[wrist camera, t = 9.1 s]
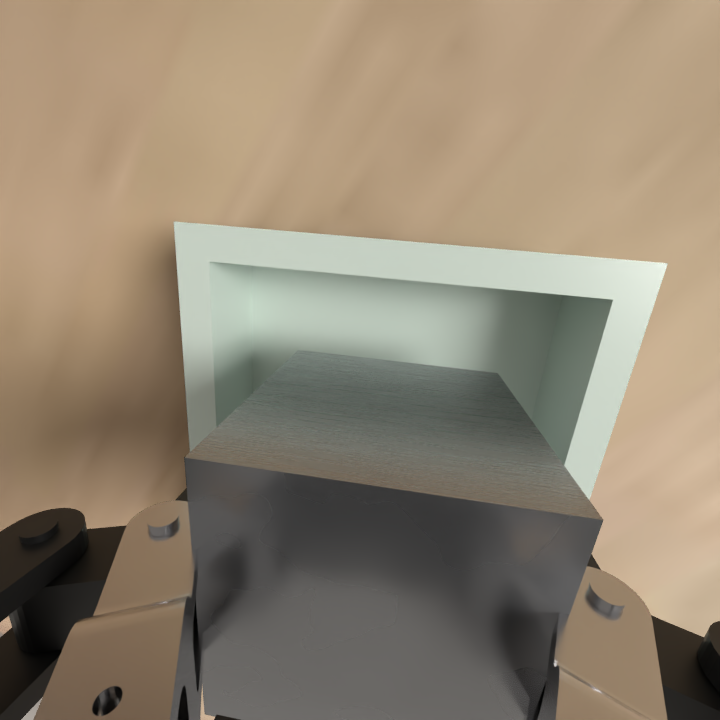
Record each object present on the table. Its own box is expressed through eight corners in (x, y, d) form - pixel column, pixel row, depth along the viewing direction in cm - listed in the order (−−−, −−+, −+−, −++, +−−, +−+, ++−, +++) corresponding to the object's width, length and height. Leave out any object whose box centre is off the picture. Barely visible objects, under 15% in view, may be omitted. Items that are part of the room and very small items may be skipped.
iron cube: (497, 372, 11) (603, 520, 5) (463, 536, 12) (509, 780, 7) (298, 349, 11) (184, 457, 5) (293, 509, 13) (204, 714, 7)
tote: (589, 258, 13) (667, 263, 9) (512, 549, 17) (543, 638, 13) (237, 228, 14) (173, 221, 10) (242, 506, 18) (198, 576, 14)
